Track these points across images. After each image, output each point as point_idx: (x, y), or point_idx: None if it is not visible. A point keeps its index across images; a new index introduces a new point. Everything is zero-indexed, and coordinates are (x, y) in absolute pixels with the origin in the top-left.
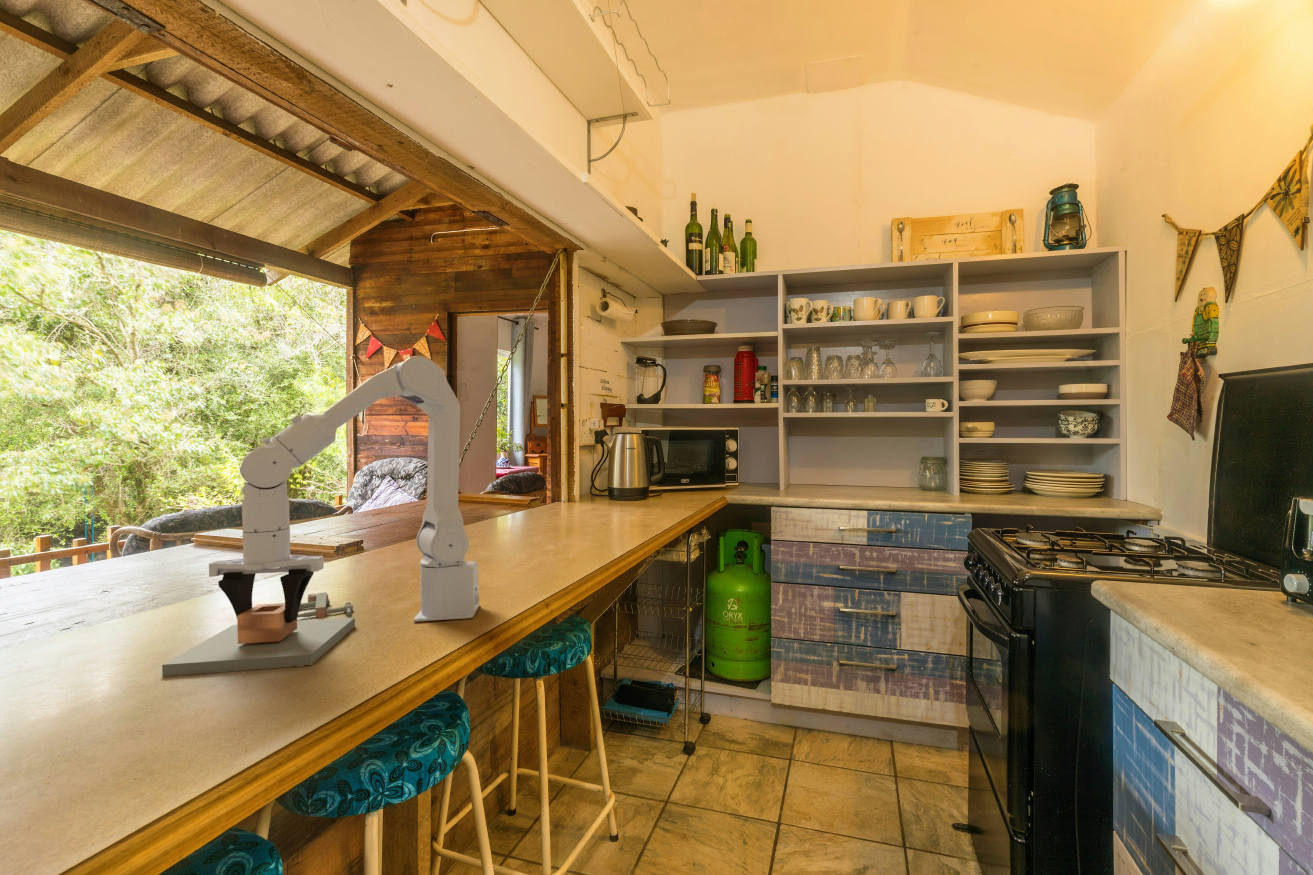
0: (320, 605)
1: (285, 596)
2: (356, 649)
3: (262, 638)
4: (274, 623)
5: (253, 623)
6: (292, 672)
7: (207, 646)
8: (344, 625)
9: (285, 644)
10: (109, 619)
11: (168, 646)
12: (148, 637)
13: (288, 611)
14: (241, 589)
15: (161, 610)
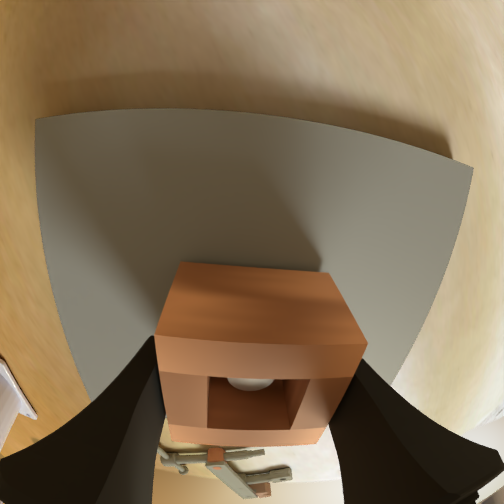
0: (220, 471)
1: (122, 425)
2: (6, 227)
3: (242, 272)
4: (187, 305)
5: (286, 315)
6: (87, 70)
7: (409, 292)
8: (75, 361)
9: (156, 244)
10: (482, 422)
11: (456, 351)
12: (470, 384)
13: (138, 364)
14: (390, 475)
15: None
